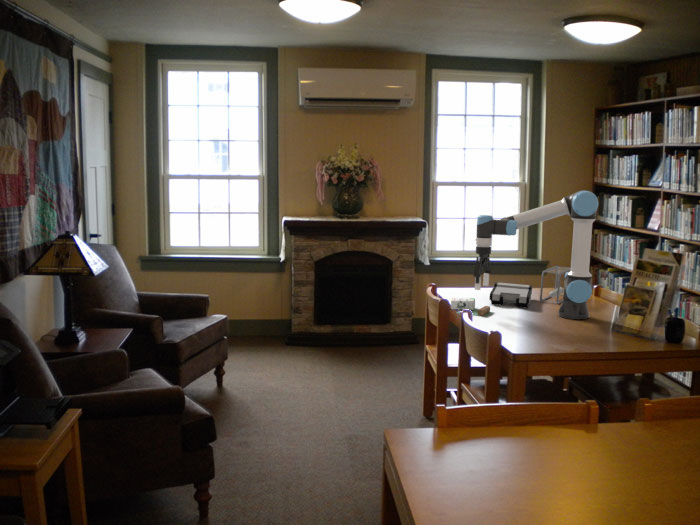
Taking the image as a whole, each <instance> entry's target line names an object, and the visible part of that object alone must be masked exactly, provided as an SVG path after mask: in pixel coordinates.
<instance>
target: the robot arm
mask: <svg viewBox="0 0 700 525" xmlns="http://www.w3.org/2000/svg"><path fill="white" fill-rule="evenodd" d="M598 207H599V200H598V197H597V195H596V194H595V193H593V192H592V191H590V190H583V189H582V190H578V191H576V192H574V193H572V194H569V195H567V196H564V197H563V198H562V199H560V200H557V201H554V202H551V203H548V204H545V205H542V206H539V207H536V208H532V209H529V210H526V211H522V212H520V213H516V214H513V215H510V216H507V217H502V218H500V219H494V218H493V215H491V214H489V215H488V214H482V215H481V214H480V215H478V216H477V220H476V238H475V241H476V244H475V254H477V255H478V256H476V259H475V260H476V262H475V267H474V272H473V277H475V278H474V290H475V291H476V290H477V291H481V288H482V286H483V287H489V284H490V274H491V273H492V270H491V260H490V255H492V247H491V246H492V242H493V241H492V237H493V236H492V235H494V236H495V235H496V236H509V237H510V236H516V235H517V231H518V230H519V229H522V228H523V229H524V228H526V227H529V226H533V225H535V224H536V225H537V224H539V223H543V222H546V221H549V220H552V219H556V218H559V217H562V216H565V215H567V216H570V220H572V221H573V231H572V242H571V243H572V244H571V245H572V246H571V257H570V258H571V259H570V268H571V270H570V271H568V272H566V274H565V273H564V276H565V277H564V282H563V284H564V285H563V289H564V292H563V293H562V295H563V296H562V300H563V302H561V303H560V304H561V305H560V307H559V309H558V312H557V314H558V315H559V317H560V316H561V318H563V317H564V318H563V319H567V318H570V319H569V320H574V319H586V320H588V319H587V318H589V319H590V312H589V307H588V303H587V302H588V300H589V299H590V298H591V297H592V295H593V288H592V282H593V280H592V278H593V275H592V273H591V272H590V263H591V249H592V248H591V247H592V232H593V223H594V222H595V221H596V220H597V210H598ZM482 271H484V273H483V278H482V277H481V276H482ZM482 279H483V280H482ZM481 280H482V281H481ZM481 282H482V283H481ZM481 284H482V286H481ZM558 315H557V316H558Z"/></svg>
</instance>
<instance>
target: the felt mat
mask: <svg viewBox="0 0 700 525" xmlns="http://www.w3.org/2000/svg"><path fill="white" fill-rule="evenodd" d="M478 310H479V309H474V310H471V311H472V313H473V315H472V317H473V316H474V317H482V318H488V317H490V316H491V315H493V314H495V313H496V312H493V311H490V312H489V313H488V314H486V315H484V316H478ZM459 311H461V310H458V311H457V312H455V313H456V314H460V312H459Z"/></svg>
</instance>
